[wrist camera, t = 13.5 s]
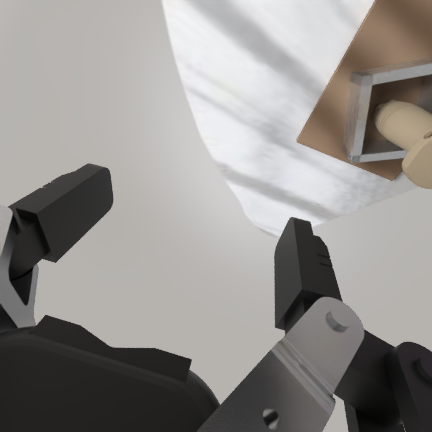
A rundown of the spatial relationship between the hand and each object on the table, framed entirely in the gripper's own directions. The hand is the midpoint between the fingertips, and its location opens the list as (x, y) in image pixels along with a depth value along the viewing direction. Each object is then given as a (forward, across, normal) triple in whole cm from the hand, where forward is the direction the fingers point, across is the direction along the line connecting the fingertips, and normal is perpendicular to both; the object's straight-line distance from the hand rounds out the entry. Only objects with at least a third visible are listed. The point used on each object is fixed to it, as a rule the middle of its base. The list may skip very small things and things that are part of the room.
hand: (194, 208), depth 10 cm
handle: (+29, -18, -2) cm, 34 cm away
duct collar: (+29, -18, -3) cm, 34 cm away
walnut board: (+29, -18, -5) cm, 35 cm away
